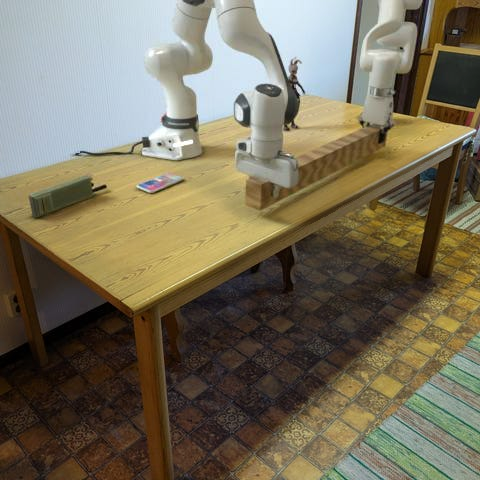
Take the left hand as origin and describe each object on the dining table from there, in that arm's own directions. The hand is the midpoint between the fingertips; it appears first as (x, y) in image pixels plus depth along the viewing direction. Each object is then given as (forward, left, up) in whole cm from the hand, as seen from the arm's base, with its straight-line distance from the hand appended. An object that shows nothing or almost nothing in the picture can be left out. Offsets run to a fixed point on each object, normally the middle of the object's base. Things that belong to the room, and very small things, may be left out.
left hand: (264, 193), depth 145 cm
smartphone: (-36, +13, -6) cm, 39 cm away
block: (+16, +28, -3) cm, 32 cm away
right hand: (+32, +56, 0) cm, 65 cm away
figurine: (-1, +83, -6) cm, 83 cm away
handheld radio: (-57, -6, -6) cm, 58 cm away
